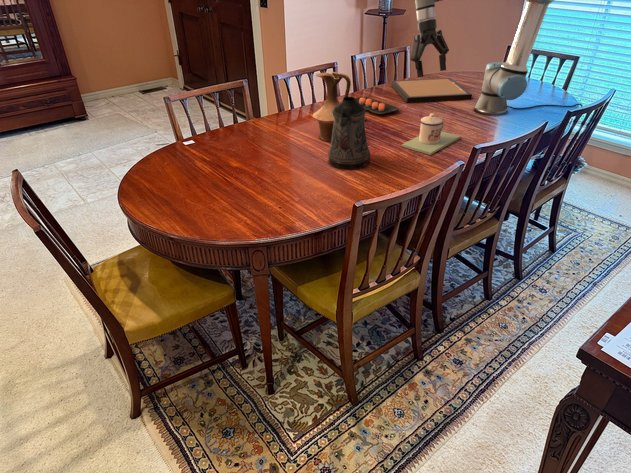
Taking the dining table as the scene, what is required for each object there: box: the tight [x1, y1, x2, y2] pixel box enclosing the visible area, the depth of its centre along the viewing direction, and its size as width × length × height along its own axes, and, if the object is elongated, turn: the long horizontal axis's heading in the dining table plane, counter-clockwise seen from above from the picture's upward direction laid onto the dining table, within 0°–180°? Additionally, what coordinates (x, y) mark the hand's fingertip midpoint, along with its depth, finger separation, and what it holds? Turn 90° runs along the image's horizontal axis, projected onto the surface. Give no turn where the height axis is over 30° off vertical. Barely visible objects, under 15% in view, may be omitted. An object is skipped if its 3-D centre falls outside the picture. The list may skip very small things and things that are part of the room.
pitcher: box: [312, 71, 352, 142], centre depth 186 cm, size 18×17×28 cm
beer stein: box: [327, 96, 371, 171], centre depth 164 cm, size 16×19×25 cm
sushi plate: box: [354, 96, 400, 122], centre depth 222 cm, size 29×30×4 cm
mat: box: [401, 130, 461, 156], centre depth 185 cm, size 24×14×1 cm, turn 136°
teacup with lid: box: [418, 112, 445, 144], centre depth 182 cm, size 12×9×12 cm
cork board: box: [391, 77, 473, 104], centre depth 247 cm, size 36×3×35 cm
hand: (432, 73), depth 188 cm, fingers open, 13 cm apart
